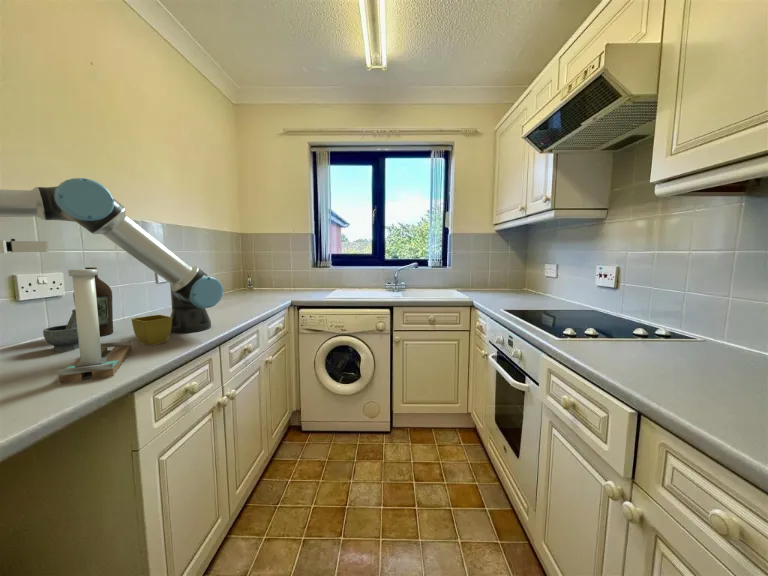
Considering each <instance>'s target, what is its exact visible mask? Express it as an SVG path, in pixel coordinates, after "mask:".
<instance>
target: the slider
mask: <svg viewBox="0 0 768 576" xmlns="http://www.w3.org/2000/svg"><path fill="white" fill-rule="evenodd" d="M97 271H98V268H97V269H85V268H84V269H83V268H82V269H81V268H80V269H77V268H76V269H68V271H67V272H68V276H69V277H72V285H73V286H72V288H73V293H74V297H73V299H74V298H75V303H74V306H75V307H74V309H76V319H77V329H78V340H79V348H78V350H79V357H80V360H81V361H80V362H79V363H78V364H77V365H76V366H75V368H76V367H84V366H92V365H101V364H105V363H106V361H107V357H104V358H102V355H101V336H100V332H99V321H98V310H97V299H96V288H95V276H96V275H99V274H97Z"/></svg>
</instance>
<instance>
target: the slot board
mask: <svg viewBox="0 0 768 576" xmlns="http://www.w3.org/2000/svg"><path fill="white" fill-rule="evenodd" d="M100 344H101V355H102V358H104V357H107V361H106V363H105V364H101V365H92V366H84V367H76V368H75V366H76V365H77V364H78V363H79V362H80V361H81V360H80V356H79V357H78V358H77V359H76V360H74V361H73V363H71V364H70V365H68V366H67V367H65V368H60V369H59V370H57V375H58V376H57V377H58V384H59V385H62V384H68V383H69V384H70V383H77V382H84V381H89V380H90V379H91V380H97V378H98V379H104V378H105V377H106V378H112V377H111V376H113V377H115V375H116V374H115V373H118V371H119V369H120V368H121V367H120V366H122V365H123V364H124V362H125V361H126V360H127V358H128V357H129V355H130V354H131V353H132V351H133V345H132V340H122V341H112V342H105V343H101V342H100ZM108 348H112V349H110V350H109V349H108ZM130 352H131V353H130ZM127 356H128V357H127ZM125 359H126V360H125ZM122 363H123V364H122ZM117 370H118V371H117ZM114 374H115V375H114Z"/></svg>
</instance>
